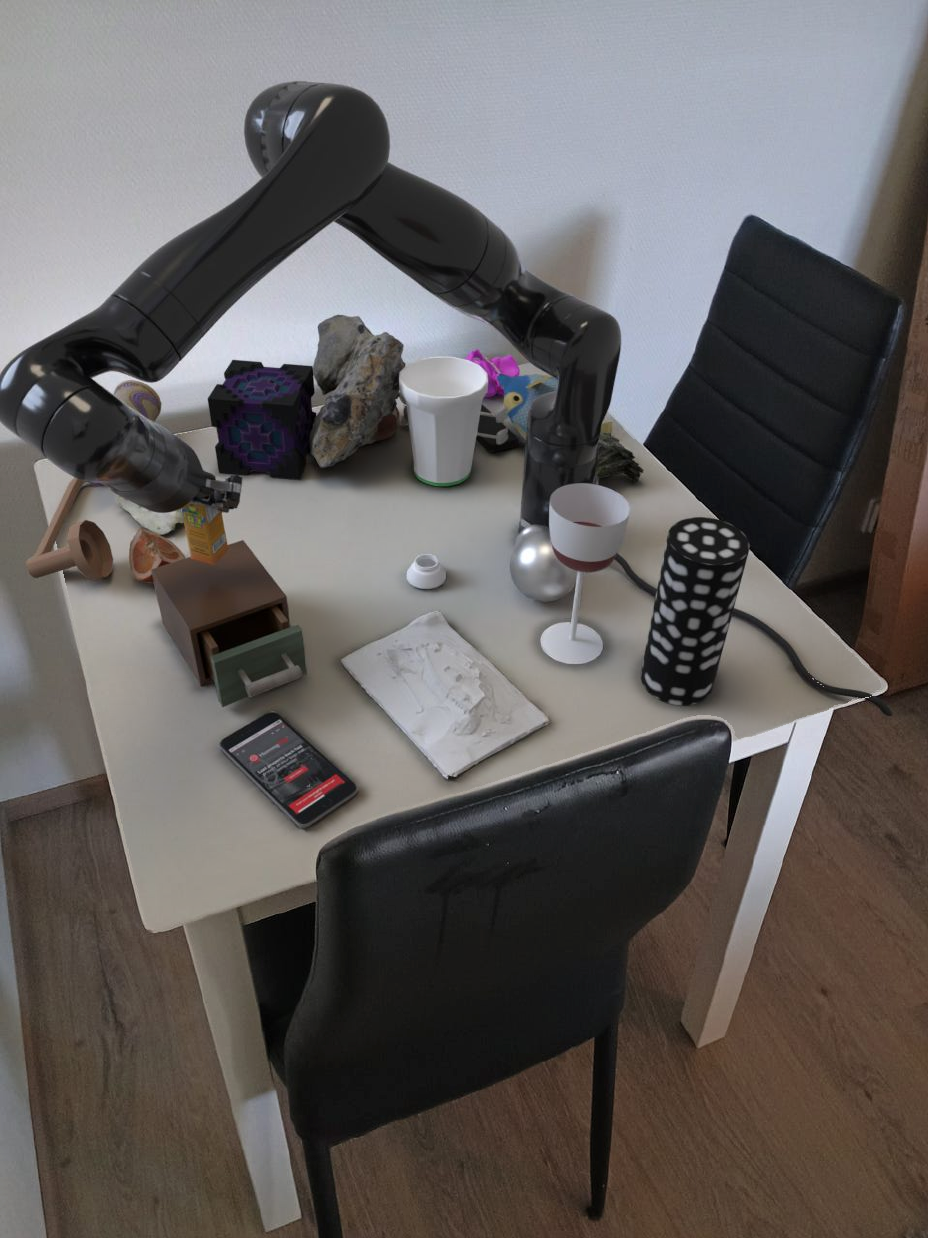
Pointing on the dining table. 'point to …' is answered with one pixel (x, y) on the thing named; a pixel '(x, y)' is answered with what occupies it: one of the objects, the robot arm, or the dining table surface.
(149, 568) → the fruit slice
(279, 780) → the smartphone
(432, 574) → the white jar
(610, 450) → the mineral specimen
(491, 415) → the figurine
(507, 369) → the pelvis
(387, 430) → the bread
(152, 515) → the white oblong lump
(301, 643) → the drawer
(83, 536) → the long-stemmed smoking pipe
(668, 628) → the white-spotted black cylinder
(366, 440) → the rock
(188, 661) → the cabinet
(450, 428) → the cup
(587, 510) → the wineglass
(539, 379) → the decorative fish sculpture
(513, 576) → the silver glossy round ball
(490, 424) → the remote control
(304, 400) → the energy cube
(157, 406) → the decorative bottle
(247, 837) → the dining table surface
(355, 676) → the terrain model
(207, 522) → the supplement box
